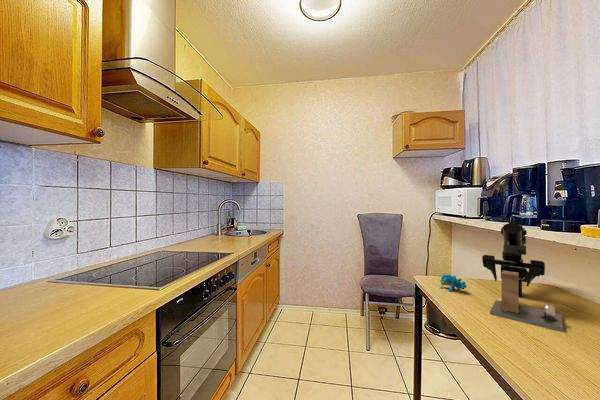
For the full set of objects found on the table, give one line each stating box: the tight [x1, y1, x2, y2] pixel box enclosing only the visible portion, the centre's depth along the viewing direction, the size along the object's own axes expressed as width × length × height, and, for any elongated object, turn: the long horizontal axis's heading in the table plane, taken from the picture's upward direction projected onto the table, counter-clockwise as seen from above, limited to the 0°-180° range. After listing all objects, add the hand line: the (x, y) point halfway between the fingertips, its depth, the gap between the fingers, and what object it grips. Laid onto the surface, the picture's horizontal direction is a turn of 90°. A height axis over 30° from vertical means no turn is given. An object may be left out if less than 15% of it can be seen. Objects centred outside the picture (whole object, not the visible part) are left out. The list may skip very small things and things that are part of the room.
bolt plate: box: [489, 299, 564, 333], centre depth 89 cm, size 14×18×5 cm
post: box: [501, 271, 520, 313], centre depth 91 cm, size 4×4×13 cm
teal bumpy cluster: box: [439, 273, 468, 292], centre depth 115 cm, size 11×6×10 cm
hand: (511, 283), depth 97 cm, fingers open, 9 cm apart
